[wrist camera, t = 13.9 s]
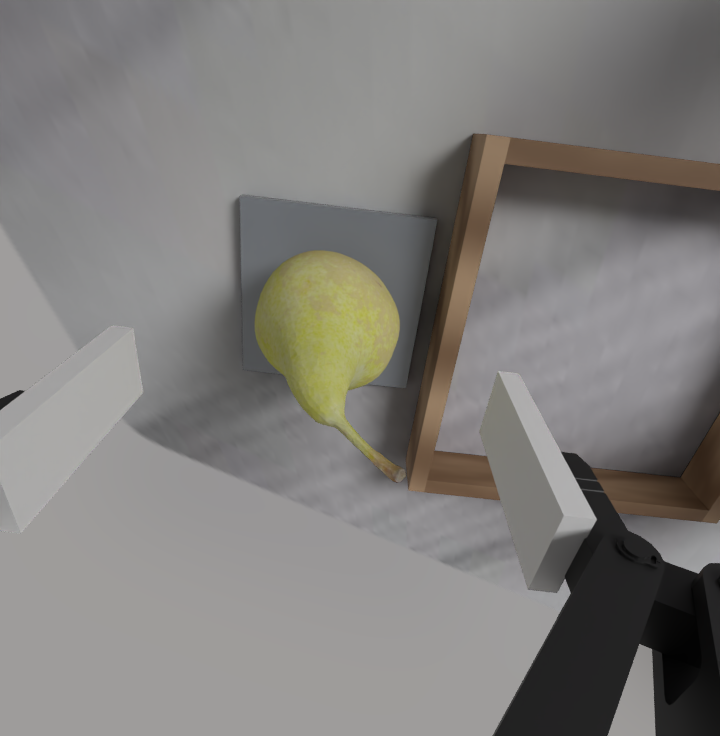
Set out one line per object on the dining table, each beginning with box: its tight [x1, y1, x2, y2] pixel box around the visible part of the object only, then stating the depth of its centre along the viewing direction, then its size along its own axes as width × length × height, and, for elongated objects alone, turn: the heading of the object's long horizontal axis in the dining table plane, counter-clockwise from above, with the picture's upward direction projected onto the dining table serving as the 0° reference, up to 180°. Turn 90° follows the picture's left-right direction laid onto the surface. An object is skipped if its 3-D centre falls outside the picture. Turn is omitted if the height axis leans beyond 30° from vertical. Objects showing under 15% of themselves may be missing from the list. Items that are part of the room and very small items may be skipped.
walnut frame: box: [406, 134, 720, 523], centre depth 25 cm, size 20×20×3 cm
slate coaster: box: [240, 195, 437, 388], centre depth 25 cm, size 10×10×1 cm
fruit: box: [255, 250, 406, 483], centre depth 19 cm, size 7×8×12 cm
